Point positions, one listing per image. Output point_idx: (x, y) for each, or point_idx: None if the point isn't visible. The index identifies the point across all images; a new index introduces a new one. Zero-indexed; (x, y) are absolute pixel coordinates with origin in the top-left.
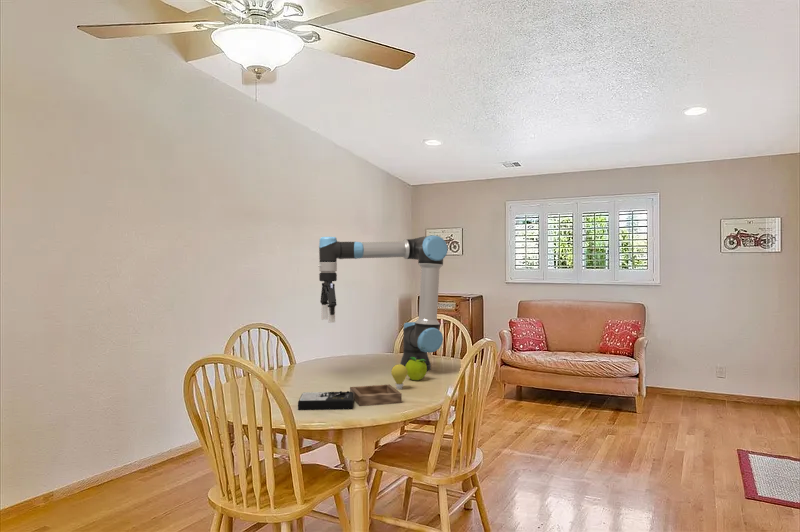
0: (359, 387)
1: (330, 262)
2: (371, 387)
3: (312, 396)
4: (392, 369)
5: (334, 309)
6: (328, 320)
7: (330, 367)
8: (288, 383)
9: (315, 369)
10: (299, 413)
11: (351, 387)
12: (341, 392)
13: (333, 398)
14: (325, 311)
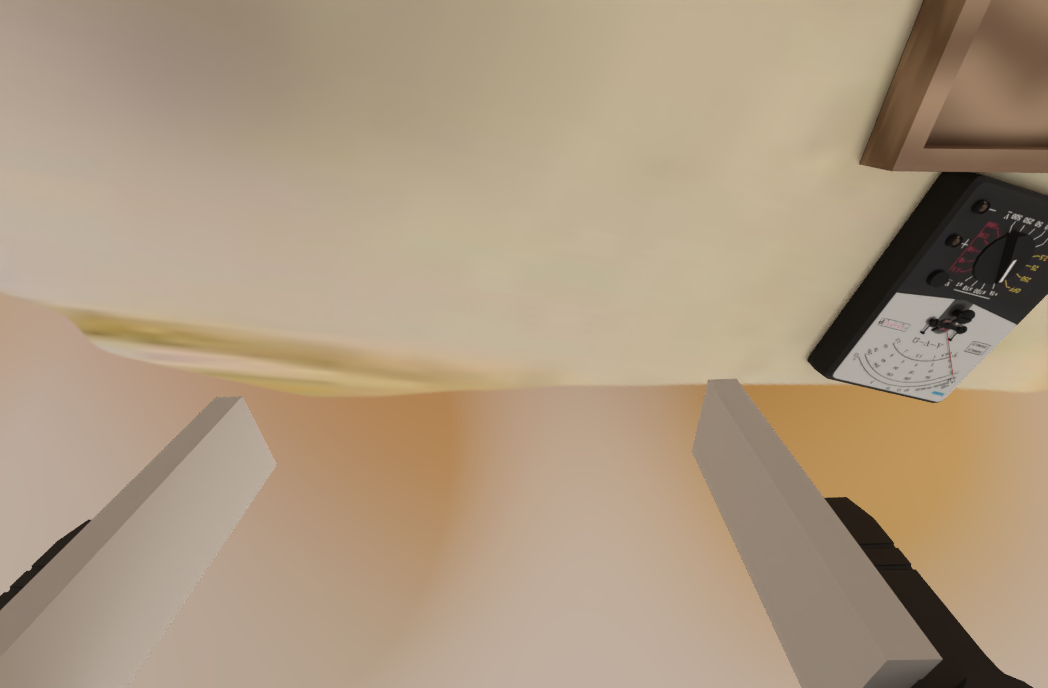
0: (935, 117)
1: None
2: (971, 30)
3: (921, 357)
4: None
5: (880, 591)
6: (704, 472)
7: (85, 114)
8: (498, 374)
9: (169, 220)
10: None
11: (907, 165)
12: (960, 238)
13: (1020, 290)
14: (167, 536)
